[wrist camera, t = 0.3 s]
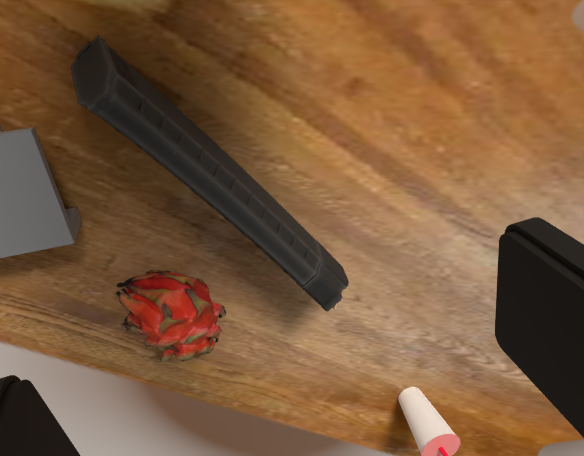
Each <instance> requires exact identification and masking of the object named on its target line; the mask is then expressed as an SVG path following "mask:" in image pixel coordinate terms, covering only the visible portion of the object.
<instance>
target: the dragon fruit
mask: <svg viewBox="0 0 584 456" xmlns="http://www.w3.org/2000/svg"><path fill="white" fill-rule="evenodd" d="M146 273H150V274H147V275H143V276H136V277H132V278H130V279H128V280H126V281H125V282H124V283H118V284H117V287H118V288H119V287H123V286H126V290H125V289H124V288H123V289H122V290H121V292H119V291H117V292H116V295H118V296H119V300H120V303H121V304H122V305H123V306H124V307H125V308H127V309H128V310H129V311H130V314H129V315H128V316H127V318H126V319H125V320H124V321H125V323H124V324H121V326H122V328H123V329H125V330H127V331H128V329H131V331H132V332H133V333H135V334H145V335H147V336H148V337H147V338H146V340H145V342H144V344H145V346H146V347H148V346H151V345H156V348H157V349H158V350H160V351H163V353H162V359H160V361H163V362H167V361H168V360H169V359H170V357H171V356H172V354H175V355H176V356H177V358H178V359H180V360H182V361H185V360H190V359H191V358H192V357H198V356H200V355H202V354H206V353H211V351H212V350H213V348H214V346H215V343H216V342H218V340H219V334H220V332H221V331H222V330H221V328H220V326H218V325H216V322H217V318H218V315H219V318H222V317H223V316H225V315H226V311H225V309H224V306H223V305H220V304H218V303H217V304H216V303H213V302H212V301H211V299H210V296H209V291H208V289H209V288H208V287H207V284H206V283H204V281H203V280H201V279H199V278H197V279H196V278H192V277H186V276H184V275H181V274H176V273H171V272H170V271H153V270H150V271H149V272H146ZM128 324H134V325H132V326H131V325H128ZM135 325H137V326H139V327H141V329H138V328H137V327H136V326H135ZM213 338H216V341H215V342H214V341H213Z"/></svg>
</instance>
